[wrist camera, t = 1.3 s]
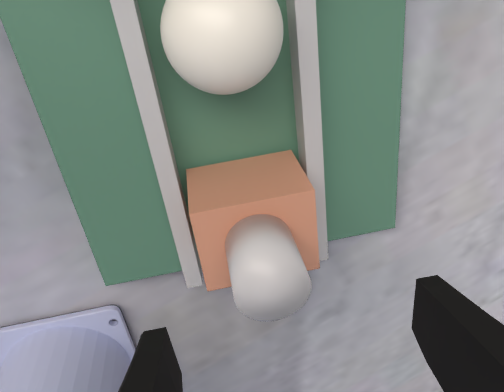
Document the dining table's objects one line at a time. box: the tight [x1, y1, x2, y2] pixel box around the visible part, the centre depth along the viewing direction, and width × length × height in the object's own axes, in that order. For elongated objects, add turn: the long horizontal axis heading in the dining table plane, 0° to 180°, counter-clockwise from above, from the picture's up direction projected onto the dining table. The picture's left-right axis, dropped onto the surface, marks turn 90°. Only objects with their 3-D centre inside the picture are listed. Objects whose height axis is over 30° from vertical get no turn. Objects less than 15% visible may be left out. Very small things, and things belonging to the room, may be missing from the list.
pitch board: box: [0, 0, 406, 288], centre depth 18 cm, size 22×16×2 cm
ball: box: [160, 0, 283, 95], centre depth 16 cm, size 4×4×4 cm
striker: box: [186, 150, 320, 321], centre depth 19 cm, size 4×5×7 cm
